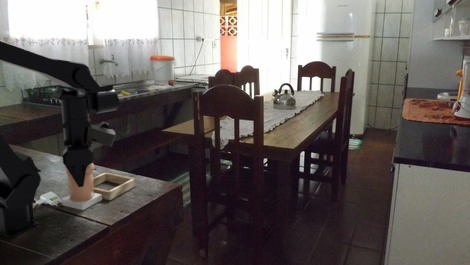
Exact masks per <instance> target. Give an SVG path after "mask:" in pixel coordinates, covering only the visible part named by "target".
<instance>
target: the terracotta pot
mask: <svg viewBox="0 0 470 265" xmlns="http://www.w3.org/2000/svg"><path fill="white" fill-rule="evenodd" d="M64 168H65V171H64V172H65V173H66V174H67V183H68V184H67V185H68V194H69V195H68V196H70V200H72V201H75V202H81V201H87V200H90V199H92V198H93V197H94V187H95V186H94V183H93V178H94V173H93V171H94V170H95V164H94V163H92V164H90V165H88V166H87V168H86V174H85V180H84V186H83V187H78V185H77V184H76V182H75V180H74V179H73V177H72V175H71V174H70V172H69V171H68V169H67V168H66V166H64Z"/></svg>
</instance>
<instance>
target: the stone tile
mask: <svg viewBox="0 0 470 265" xmlns="http://www.w3.org/2000/svg"><path fill="white" fill-rule="evenodd" d="M102 200H103V199H102V194H99V193H94V197H93V198H92V199H90V200H87V201H81V202H75V201H72V200H70V195H68V196H66V197H63V198H61V205H62V206H65V207H68V208H73V209H76V210H79V211H84V210H86V209H88V208H90V207H92V206H94V205H96V204H97V203H99V202H101V201H102Z"/></svg>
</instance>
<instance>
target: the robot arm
mask: <svg viewBox="0 0 470 265" xmlns="http://www.w3.org/2000/svg"><path fill="white" fill-rule="evenodd" d="M0 62H1V63H5V64H8V65H11V66H14V67H15V66H16V67H17V68H20V69H24V70H27V71H30V72H34V73H36V74H37V73H38V74H39V75H41V76H43V77H45V78H46V79H48V80H50V81H51V82H54V83H55V84H58V85H60V86H62V87H67V88H72V89H70V90H66V89H65V88H61V87H58V88H57V89H56V91H54V92H53V93H52V94H51V95H50V98H51V99H52V100H58V101H60V104H61V116H62V129H63V144H64V147H65V148H64V149H63V151H62V164H63V165H64V167H66V168H67V169H68V171H69V172H70V174H71V175H72V177H73V179H74V180H75V182H76V184H77V185H78V187H83V186H84V180H85V174H86V168H87V166H88V165H90V164H92V163H93V162H94V161H95V158H94V155H95V154H94V148H92V145H93V142H94V143H97V144H100V145H101V144H102V145H105V146H106V147H111V148H112V147H113V144H114V141H115V138H116V130H114V129H112V128H111V129H110V126H109V123H108V122H104V121H101V123H100V124H96V125H93V124H92V119H90V113H92V114H94V115H95V114H102V113H106V112H107V113H108V112H113V111H115V112H116V111H117V110H118V109H119V106H120V98H119V96H118V93H117V92H116V91H115V89H114V85H113V84H111V83H104V84H101V85H100V84H98V82H97V81H96V80H95V78H94V77H93V75H92V74H91V71H90V67H89V66H88V65H86V64H85V63H83V62H77V61H70V60H64V59H57V58H53V57H49V56H46V55H43V54H41V53H38V52H36V51H32V50H30V49H28V48H24V47H21V46H17V45H15V44H13V43H10V42H7V41H4V40H1V39H0ZM81 91H83V92H81ZM93 164H94V163H93ZM40 172H42V170H41V169H39V168H38V167H37V166H36V165H35V162H34V160H33V159H32V157H31V156H30V155H27V154H24V153H22V152H20V151H18V150H16V151H14V149H13V148H12V147H11V146H10V145H9V143H8V141H7V140H6V139H5V137H4V136H3V135H2V133H1V132H0V235H1V236H5V237H7V238H11V239H13V238H16V237H17V236H19V235H21V234H23V233H25V232H27V231H29V230H31V229H32V228H35V227H36V226H38V225H39V222H38V221H36V220H35V215H34V214H35V213H34V212H35V211H34V204H33V203H34V201H35V198H36V194H37V191H38V188H39V186H40V183H41V181H42V177H41V175H40Z"/></svg>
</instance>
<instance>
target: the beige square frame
mask: <svg viewBox="0 0 470 265" xmlns="http://www.w3.org/2000/svg"><path fill="white" fill-rule="evenodd" d="M136 181H137V180H136V178H134V177H130V176H126V175H120V174H115V173H109V172H103V173H101V174H99V175H97V176H93V183H94V193H99V194H102V200H107V201H111V200H114V199H116V198H117V197H118V196H120V195H122V194H124V193H126V192H127V191H130V190H131V189H133V188H135V187H136V186H137V184H136V183H137V182H136ZM105 182H110V183H115V184H119V185H118V186H115V187H113V188H112V189H110V190H107V189H102V188H98V187H97V186H99V185H101V184H103V183H105Z"/></svg>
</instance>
